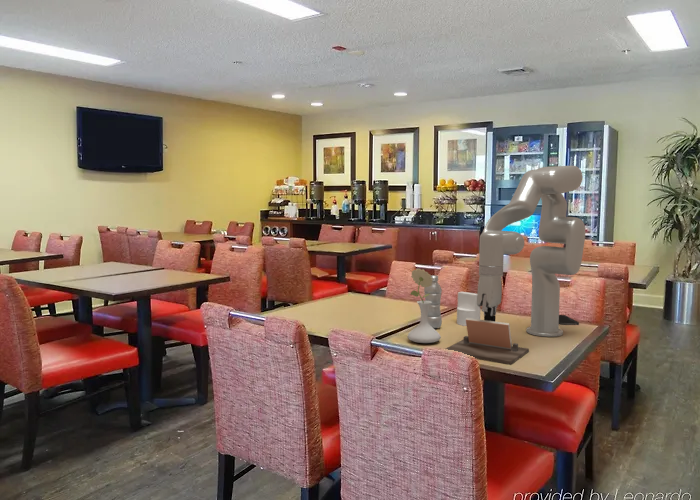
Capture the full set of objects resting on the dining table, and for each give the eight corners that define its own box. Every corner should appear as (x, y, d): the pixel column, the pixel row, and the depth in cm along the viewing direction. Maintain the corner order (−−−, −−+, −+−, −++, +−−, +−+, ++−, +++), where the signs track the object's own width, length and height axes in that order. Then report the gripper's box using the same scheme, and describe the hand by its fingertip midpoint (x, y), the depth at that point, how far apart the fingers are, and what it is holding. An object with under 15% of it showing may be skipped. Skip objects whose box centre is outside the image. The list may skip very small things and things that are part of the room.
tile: (467, 317, 181) (465, 319, 180) (509, 323, 173) (508, 325, 172) (470, 341, 184) (469, 343, 183) (512, 348, 176) (511, 350, 175)
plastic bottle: (440, 330, 206) (440, 277, 204) (422, 329, 208) (422, 276, 206) (443, 326, 212) (443, 275, 210) (425, 325, 214) (426, 274, 212)
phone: (560, 323, 215) (545, 314, 230) (560, 326, 215) (545, 317, 230) (580, 322, 215) (564, 314, 230) (580, 325, 215) (564, 317, 230)
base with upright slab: (452, 323, 218) (452, 293, 217) (466, 320, 224) (466, 290, 223) (470, 327, 211) (471, 296, 210) (484, 323, 217) (485, 293, 216)
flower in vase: (447, 343, 188) (448, 270, 186) (420, 347, 183) (421, 272, 180) (424, 334, 200) (424, 266, 197) (398, 339, 194) (398, 268, 192)
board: (464, 341, 190) (464, 332, 190) (528, 351, 177) (529, 341, 177) (442, 353, 176) (442, 343, 176) (511, 364, 164) (511, 354, 163)
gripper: (488, 268, 185) (487, 322, 187) (470, 272, 173) (469, 330, 175) (510, 269, 181) (508, 325, 183) (493, 274, 169) (492, 333, 170)
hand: (489, 327), depth 179 cm, fingers closed
